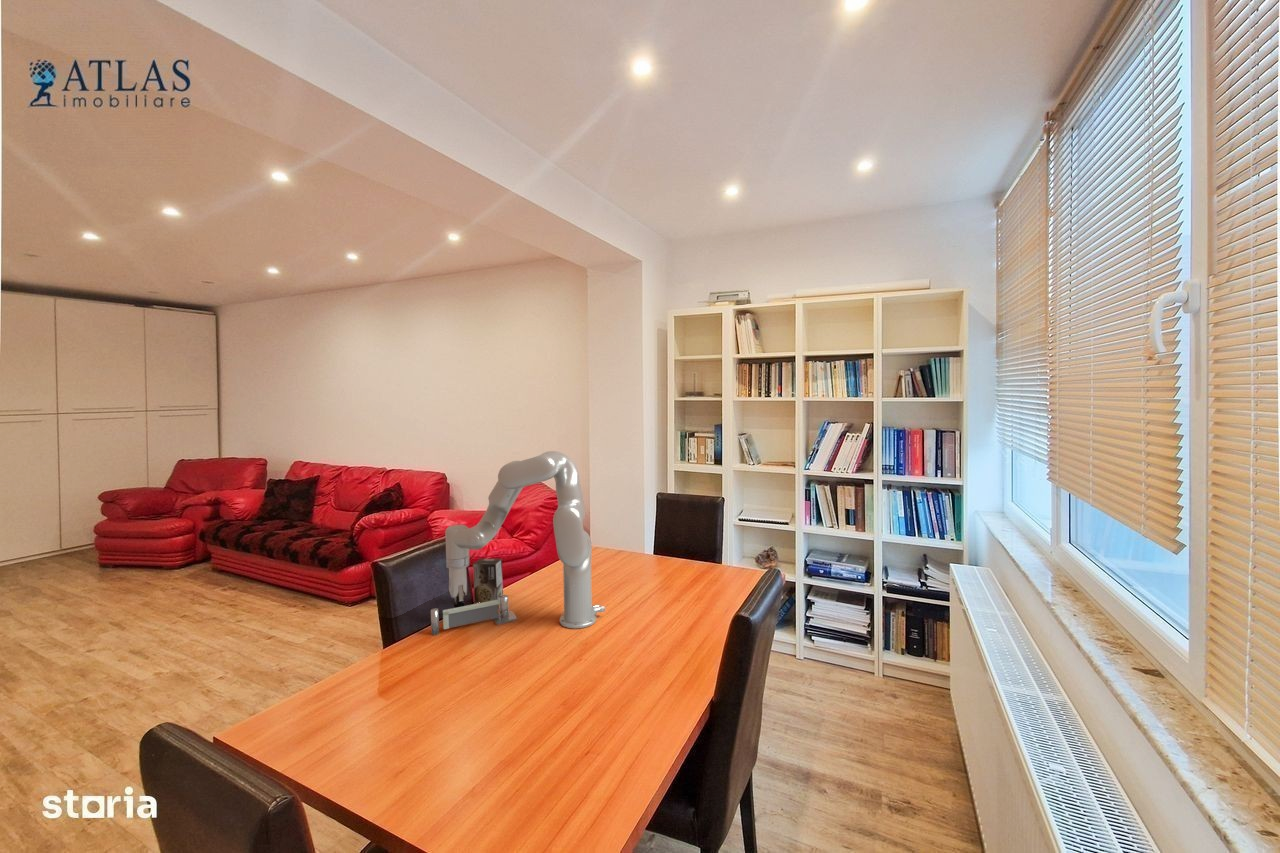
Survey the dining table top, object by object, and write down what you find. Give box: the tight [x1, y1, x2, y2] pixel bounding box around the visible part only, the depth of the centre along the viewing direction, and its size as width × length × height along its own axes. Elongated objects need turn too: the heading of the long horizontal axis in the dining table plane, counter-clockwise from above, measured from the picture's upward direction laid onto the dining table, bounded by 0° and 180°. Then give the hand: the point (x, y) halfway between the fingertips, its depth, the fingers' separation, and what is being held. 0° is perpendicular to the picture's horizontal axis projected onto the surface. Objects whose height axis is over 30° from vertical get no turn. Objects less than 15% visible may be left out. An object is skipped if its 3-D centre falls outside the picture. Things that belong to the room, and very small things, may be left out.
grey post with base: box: [493, 594, 518, 626], centre depth 174 cm, size 7×7×8 cm
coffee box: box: [472, 558, 504, 605], centre depth 188 cm, size 9×6×16 cm
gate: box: [442, 600, 500, 630], centre depth 169 cm, size 18×2×6 cm, turn 118°
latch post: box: [430, 607, 440, 636], centre depth 164 cm, size 2×2×8 cm
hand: (459, 613), depth 173 cm, fingers closed
